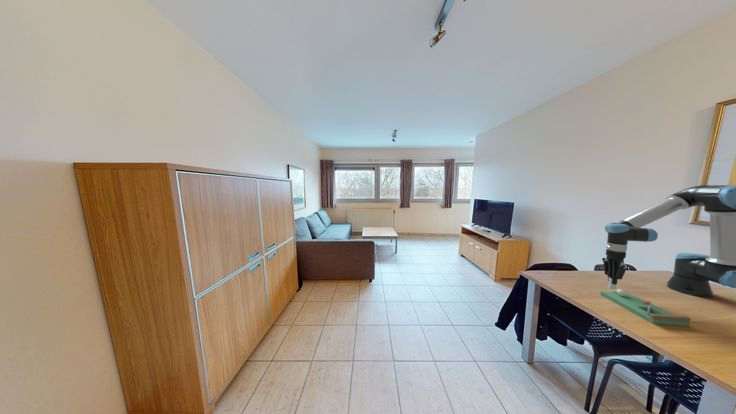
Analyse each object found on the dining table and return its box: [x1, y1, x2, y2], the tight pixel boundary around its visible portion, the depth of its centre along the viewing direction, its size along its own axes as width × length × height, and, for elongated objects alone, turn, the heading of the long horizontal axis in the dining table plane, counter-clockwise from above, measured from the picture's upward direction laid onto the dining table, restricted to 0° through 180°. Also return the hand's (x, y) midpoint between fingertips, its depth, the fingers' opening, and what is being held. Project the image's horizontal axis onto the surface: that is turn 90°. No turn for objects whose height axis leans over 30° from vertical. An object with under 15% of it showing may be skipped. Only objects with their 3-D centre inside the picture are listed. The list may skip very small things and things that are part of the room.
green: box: [599, 290, 691, 327], centre depth 109 cm, size 15×26×9 cm, turn 171°
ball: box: [616, 288, 629, 296], centre depth 117 cm, size 4×4×4 cm
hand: (611, 288), depth 123 cm, fingers closed
